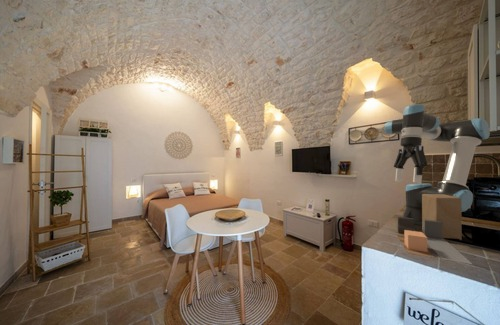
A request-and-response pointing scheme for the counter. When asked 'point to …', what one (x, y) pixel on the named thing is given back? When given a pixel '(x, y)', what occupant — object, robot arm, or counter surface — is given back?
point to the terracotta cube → (415, 240)
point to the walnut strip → (402, 238)
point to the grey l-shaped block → (441, 242)
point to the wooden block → (443, 213)
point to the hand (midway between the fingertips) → (407, 181)
